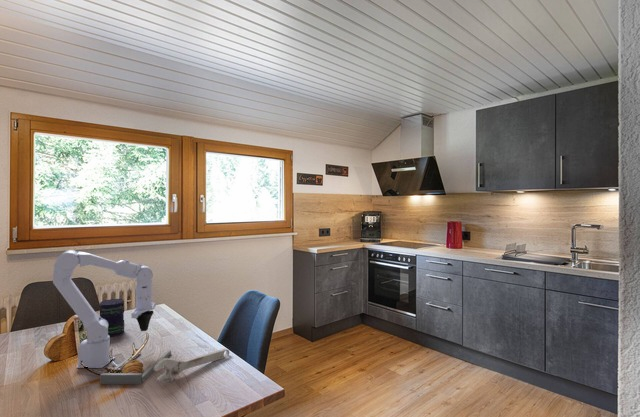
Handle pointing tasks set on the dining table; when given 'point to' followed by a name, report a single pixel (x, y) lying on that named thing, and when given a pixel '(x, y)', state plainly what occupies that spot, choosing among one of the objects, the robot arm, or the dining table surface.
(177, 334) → the dining table surface
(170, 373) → the wrench
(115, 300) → the storage jar
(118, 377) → the bay
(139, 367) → the pastry
